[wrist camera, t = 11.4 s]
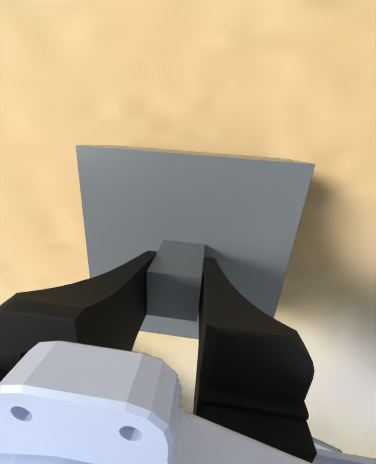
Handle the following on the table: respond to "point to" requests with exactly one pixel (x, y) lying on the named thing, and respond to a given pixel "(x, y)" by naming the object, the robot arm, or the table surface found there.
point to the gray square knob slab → (191, 223)
